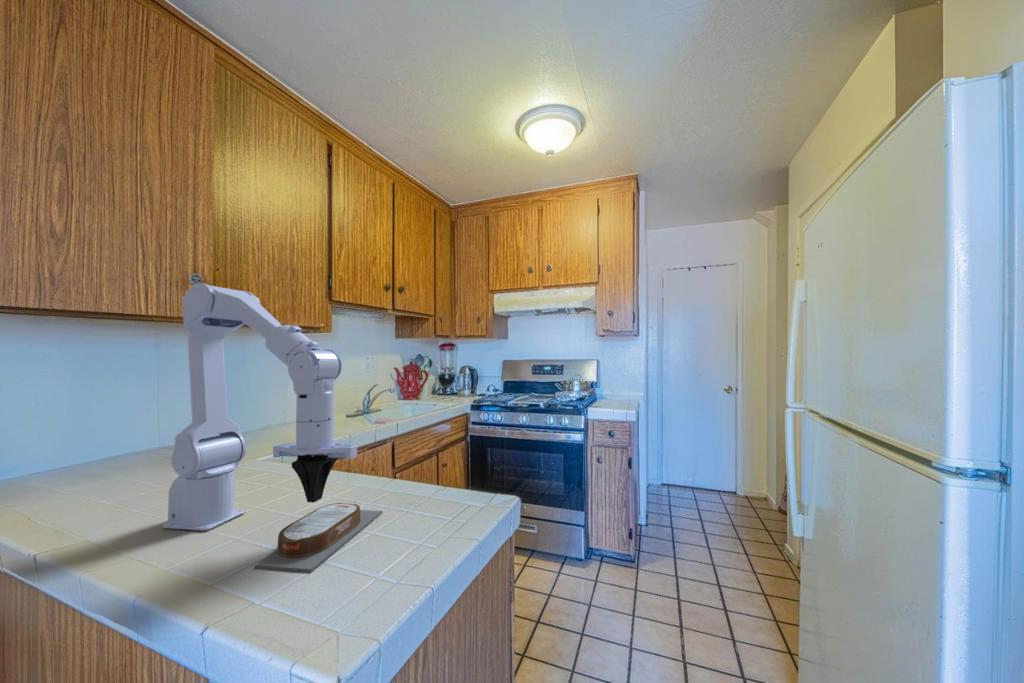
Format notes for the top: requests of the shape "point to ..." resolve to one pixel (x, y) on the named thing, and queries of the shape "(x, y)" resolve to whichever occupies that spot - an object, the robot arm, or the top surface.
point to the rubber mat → (318, 558)
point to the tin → (318, 530)
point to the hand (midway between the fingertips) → (314, 500)
